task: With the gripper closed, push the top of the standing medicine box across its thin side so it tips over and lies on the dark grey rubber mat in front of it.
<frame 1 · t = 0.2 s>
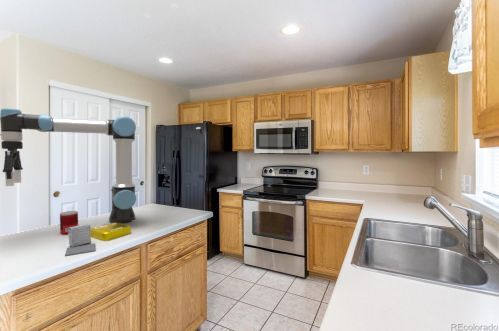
hand: (13, 184, 124), 28 cm above the worktop, tool pointing down, fingers open, 13 cm apart
medicine box: (80, 244, 119), on the worktop, touching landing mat
element tile: (110, 235, 135), on the worktop
canned food: (69, 232, 138), on the worktop
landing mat: (81, 250, 113), on the worktop
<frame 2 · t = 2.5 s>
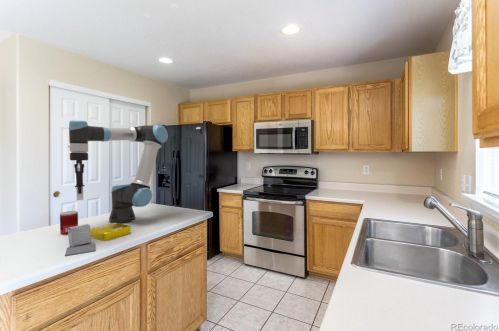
hand: (80, 199, 125), 20 cm above the worktop, tool pointing down, fingers closed
nothing on the worktop moved.
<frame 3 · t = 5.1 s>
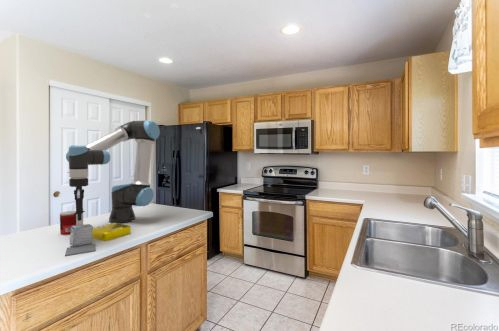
hand: (79, 226, 121), 8 cm above the worktop, tool pointing down, fingers closed
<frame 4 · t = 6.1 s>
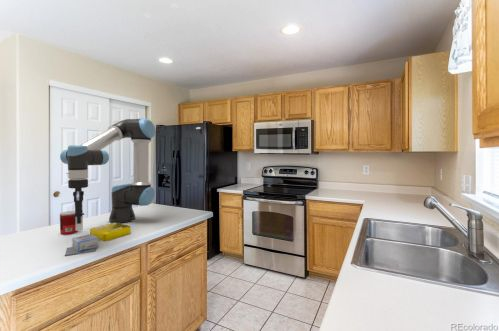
hand: (79, 229, 116), 8 cm above the worktop, tool pointing down, fingers closed
medicine box: (81, 240, 118), point 3 cm above the worktop, touching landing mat
everything else where it was.
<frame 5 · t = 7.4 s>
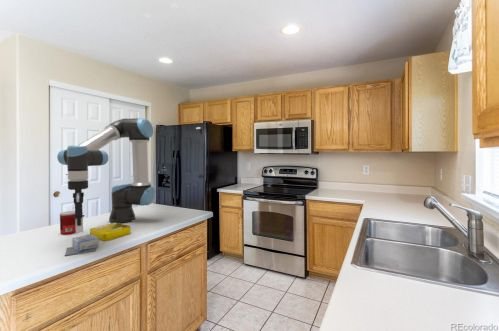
hand: (79, 232, 114), 8 cm above the worktop, tool pointing down, fingers closed
nothing on the worktop moved.
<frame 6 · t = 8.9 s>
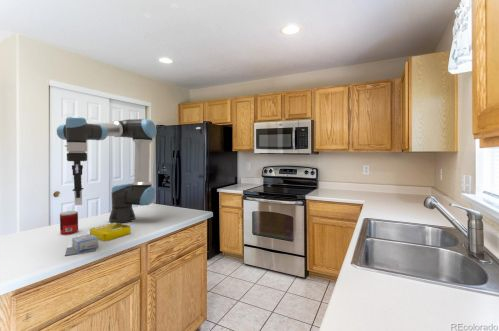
hand: (78, 204, 114), 20 cm above the worktop, tool pointing down, fingers closed
nothing on the worktop moved.
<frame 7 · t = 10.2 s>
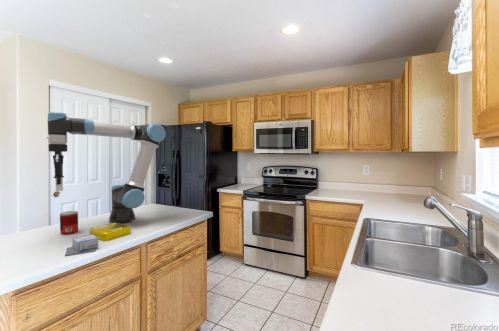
hand: (59, 190, 127), 24 cm above the worktop, tool pointing down, fingers closed
nothing on the worktop moved.
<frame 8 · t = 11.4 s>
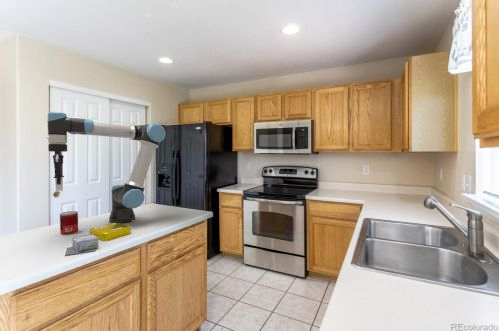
hand: (59, 190, 127), 24 cm above the worktop, tool pointing down, fingers closed
nothing on the worktop moved.
at the end: medicine box tilted 89°; medicine box inside the target area (1.7 cm from its centre), point 2.7 cm above the worktop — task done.
